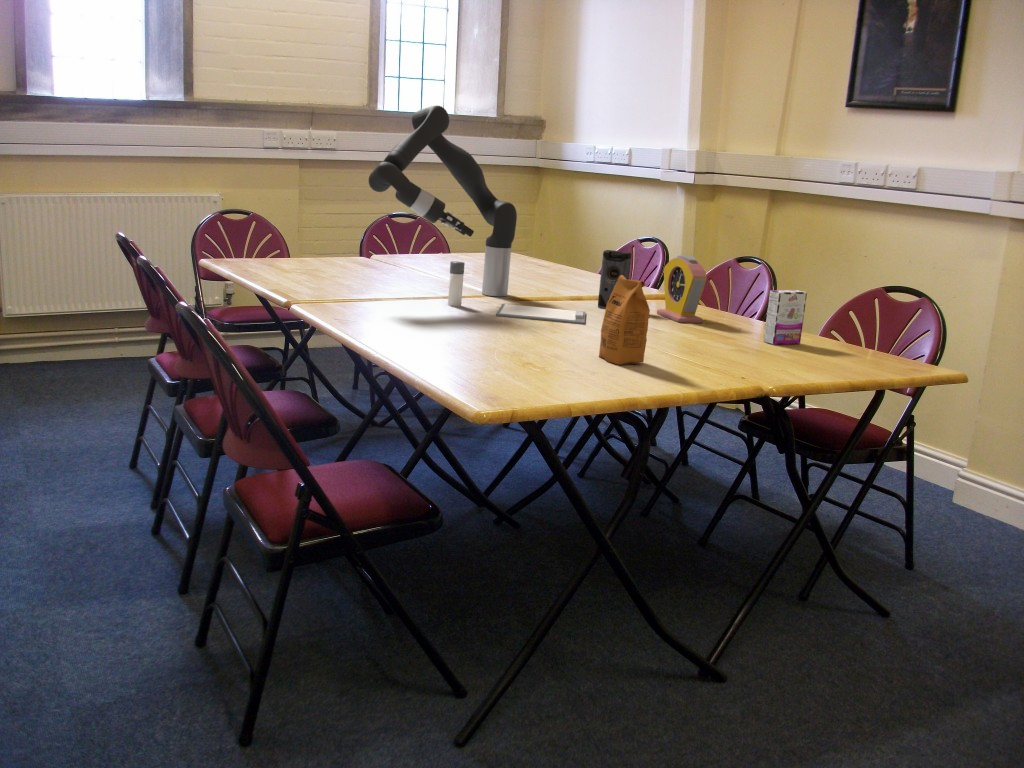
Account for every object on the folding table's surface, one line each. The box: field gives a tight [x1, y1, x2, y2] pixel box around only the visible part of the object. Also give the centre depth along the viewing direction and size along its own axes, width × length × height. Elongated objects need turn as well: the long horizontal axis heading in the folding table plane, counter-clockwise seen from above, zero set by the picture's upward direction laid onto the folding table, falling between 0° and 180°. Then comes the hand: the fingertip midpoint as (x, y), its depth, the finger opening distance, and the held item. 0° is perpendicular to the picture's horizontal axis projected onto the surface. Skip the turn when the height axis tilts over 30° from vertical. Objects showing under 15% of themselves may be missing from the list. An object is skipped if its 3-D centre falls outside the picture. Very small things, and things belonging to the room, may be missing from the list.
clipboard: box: [495, 303, 586, 325], centre depth 318 cm, size 22×28×2 cm
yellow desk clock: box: [656, 254, 708, 324], centre depth 331 cm, size 22×9×22 cm, turn 18°
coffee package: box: [598, 275, 651, 366], centre depth 254 cm, size 10×12×22 cm
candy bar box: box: [763, 289, 808, 346], centre depth 301 cm, size 11×5×16 cm, turn 117°
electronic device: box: [597, 249, 632, 310], centre depth 341 cm, size 9×6×20 cm, turn 68°
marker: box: [447, 260, 465, 308], centre depth 320 cm, size 5×5×14 cm
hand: (469, 233), depth 316 cm, fingers open, 8 cm apart
